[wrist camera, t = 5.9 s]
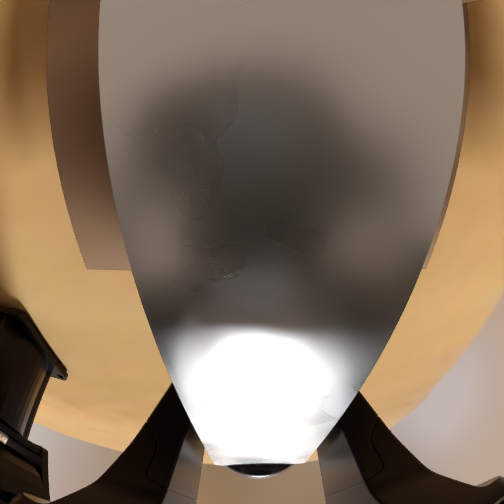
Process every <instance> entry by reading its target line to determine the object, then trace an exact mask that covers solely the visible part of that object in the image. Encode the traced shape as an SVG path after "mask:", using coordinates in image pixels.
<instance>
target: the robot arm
mask: <svg viewBox="0 0 504 504" xmlns="http://www.w3.org/2000/svg"><path fill="white" fill-rule="evenodd" d="M50 376H51V377H54V378H58V379H61V380H66V379H67V377H68V374H67V372H66V371H65V370H64V368H63V367H62V366H61V365H60V363H59V362H58V361H57V359H56V358H55V357H54V355H53V354H52V353H51V351H50V350H49V349H48V347H47V346H46V344H45V343H44V341H43V340H42V338H41V337H40V336H39V334H38V333H37V331H36V329H35V328H34V326H33V325H32V323H31V322H30V320H29V318H28V317H27V316H26V315H25V314H24V313H23V312H22V311H19V310H15V309H10V308H5V307H0V434H1V435H3V436H4V437H6V438H7V439H8V440H7V442H6V443H3V442H2V441H0V504H196V502H197V501H196V500H197V495H198V488H199V482H200V475H201V468H202V462H203V455H204V449H205V447H204V445H203V443H202V441H201V440H200V438H199V436H198V434H197V432H196V430H195V428H194V426H193V424H192V422H191V420H190V418H189V416H188V414H187V412H186V410H185V408H184V406H183V404H182V402H181V400H180V398H179V396H178V393H177V391H176V389H175V387H174V385H173V382H172V383H171V385H170V386H169V388H168V389H167V391H166V392H165V394H164V395H163V397H162V398H161V400H160V401H159V403H158V404H157V406H156V407H155V409H154V411H153V412H152V414H151V415H150V417H149V418H148V420H147V422H145V424H144V425H143V427H142V428H141V430H140V431H139V433H138V434H137V435H136V437H135V438H134V440H133V441H132V442H131V443H130V445H129V446H128V447H127V448H126V449H125V451H124V452H123V453H122V454H121V455H120V456H119V457H118V459H117V460H116V461H115V462H114V463H113V464H112V465H111V466H110V467H109V468H108V469H107V471H106V472H105V473H104V474H103V475H102V476H101V477H100V478H99V479H98V480H96V481H95V482H94V483H92V484H91V485H89V486H87V487H85V488H82V489H80V490H78V491H76V492H74V493H72V494H69V495H67V496H65V497H63V498H61V499H58V500H56V501H53V502H50V495H49V481H48V451H47V450H46V449H44V448H43V447H41V446H39V445H36V444H34V443H32V442H30V441H29V440H28V436H29V433H30V430H31V427H32V424H33V421H34V418H35V415H36V412H37V409H38V407H39V404H40V401H41V399H42V396H43V393H44V391H45V388H46V386H47V383H48V381H49V378H50ZM377 416H378V415H377V413H376V412H375V411H374V409H373V408H372V407H371V406H370V404H369V403H368V402H367V400H366V399H365V398H364V396H363V395H362V394H361V393H360V391H358V393H357V394H356V396H355V397H354V399H353V400H352V402H351V403H350V405H349V406H348V408H347V409H346V410H345V412H344V413H343V415H342V416H341V417H340V419H339V420H338V422H337V423H336V424H335V426H334V427H333V428H332V430H331V431H330V432H329V434H328V435H327V436H326V437H325V439H324V440H323V441H322V443H321V444H320V445H319V446H318V447H317V452H318V458H319V464H320V469H321V476H322V482H323V487H324V493H325V501H326V504H504V478H503V477H501V476H497V477H495V478H492V479H491V480H488V481H486V482H484V483H482V484H479V485H477V486H473V485H470V484H466V483H463V482H460V481H457V480H454V479H451V478H448V477H445V476H443V475H440V474H437V473H435V472H433V471H431V470H430V469H428V468H427V467H425V466H424V465H423V464H422V463H421V462H420V461H419V460H418V459H417V458H416V457H415V456H414V455H413V454H412V453H411V452H410V451H409V450H408V449H407V448H406V447H405V446H404V445H402V443H401V442H400V441H399V440H398V439H397V438H396V437H395V436H394V435H393V434H392V433H391V431H390V430H389V429H388V427H387V426H386V425H385V424H384V422H383V421H382V420H381V418H380V417H377Z"/></svg>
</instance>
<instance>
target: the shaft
mask: <svg viewBox="0 0 504 504" xmlns="http://www.w3.org/2000/svg"><path fill="white" fill-rule="evenodd" d="M98 60H99V88H100V102H101V114H102V124H103V133H104V141H105V148H106V155H107V162H108V168H109V174H110V180H111V185H112V190H113V196H114V200H115V205H116V210H117V215H118V219H119V223H120V228H121V232H122V236H123V240H124V244H125V248H126V251H127V255H128V259H129V262H130V266H131V269H132V273H133V276H134V279H135V283H136V286H137V289H138V292H139V296H140V299H141V302H142V305H143V308H144V311H145V314H146V316H147V319H148V322H149V325H150V328H151V330H152V333H153V336H154V338H155V341H156V344H157V346H158V349H159V351H160V354H161V356H162V359H163V361H164V364H165V366H166V368H167V371H168V373H169V375H170V378H171V380H172V382H173V385H174V387H175V389H176V391H177V393H178V396H179V398H180V400H181V402H182V404H183V406H184V408H185V410H186V412H187V414H188V416H189V418H190V420H191V422H192V424H193V426H194V428H195V430H196V432H197V434H198V436H199V438H200V440H201V441H202V443H203V445H204V447H205V449H206V451H207V452H208V454H209V456H210V458H211V459H212V461H213V463H214V464H215V465H223V466H224V467H226V468H227V469H228V470H230V471H231V472H233V473H235V474H237V475H239V476H242V477H246V478H252V479H264V478H270V477H274V476H277V475H279V474H281V473H283V472H285V471H286V470H288V469H289V468H291V467H292V466H293V465H294V464H298V463H305V462H306V461H307V459H308V458H309V457H310V456H311V455H312V454H313V452H314V451H315V450H316V449H317V447H318V446H319V445H320V444H321V443H322V441H323V440H324V439H325V437H326V436H327V435H328V434H329V432H330V431H331V430H332V428H333V427H334V426H335V424H336V423H337V422H338V420H339V419H340V417H341V416H342V415H343V413H344V412H345V410H346V409H347V408H348V406H349V405H350V403H351V402H352V400H353V399H354V397H355V396H356V394H357V393H358V391H359V390H360V388H361V387H362V385H363V383H364V382H365V380H366V379H367V377H368V375H369V374H370V372H371V370H372V369H373V367H374V365H375V364H376V362H377V360H378V359H379V357H380V355H381V353H382V351H383V350H384V348H385V346H386V344H387V342H388V340H389V339H390V337H391V335H392V333H393V331H394V329H395V327H396V325H397V323H398V321H399V319H400V317H401V315H402V313H403V311H404V309H405V306H406V304H407V302H408V300H409V298H410V295H411V293H412V291H413V289H414V286H415V284H416V282H417V279H418V277H419V274H420V272H421V269H422V267H423V264H424V262H425V259H426V256H427V254H428V251H429V248H430V245H431V242H432V240H433V237H434V234H435V231H436V228H437V224H438V221H439V218H440V215H441V211H442V208H443V204H444V201H445V197H446V193H447V189H448V185H449V181H450V177H451V173H452V168H453V163H454V159H455V153H456V148H457V142H458V136H459V130H460V123H461V115H462V106H463V95H464V80H465V31H464V17H463V7H462V0H101V1H100V14H99V40H98Z"/></svg>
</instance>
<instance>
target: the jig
mask: <svg viewBox="0 0 504 504" xmlns="http://www.w3.org/2000/svg"><path fill="white" fill-rule="evenodd" d="M100 1H101V0H50V6H49V15H48V27H47V51H46V67H47V92H48V105H49V115H50V123H51V131H52V138H53V144H54V150H55V156H56V162H57V167H58V172H59V176H60V181H61V185H62V189H63V194H64V198H65V202H66V205H67V209H68V213H69V216H70V220H71V223H72V227H73V230H74V233H75V236H76V239H77V242H78V245H79V248H80V251H81V254H82V257H83V260H84V263H85V265H86V268H87V269H97V270H132V269H131V266H130V262H129V259H128V255H127V251H126V248H125V244H124V240H123V236H122V232H121V228H120V223H119V219H118V215H117V210H116V205H115V200H114V196H113V190H112V185H111V180H110V174H109V168H108V162H107V155H106V148H105V141H104V133H103V124H102V114H101V102H100V88H99V60H98V40H99V14H100ZM472 1H480V0H462V7H463V17H464V31H465V80H464V95H463V106H462V115H461V123H460V130H459V136H458V142H457V148H456V153H455V159H454V163H453V168H452V173H451V177H450V181H449V185H448V189H447V193H446V197H445V201H444V204H443V208H442V211H441V215H440V218H439V221H438V224H437V228H436V231H435V234H434V237H433V240H432V242H431V245H430V248H429V251H428V254H427V256H426V259H425V262H424V264H423V267H422V269H426V267H427V265H428V262H429V260H430V257H431V255H432V252H433V249H434V246H435V244H436V241H437V238H438V235H439V232H440V229H441V226H442V223H443V220H444V216H445V213H446V210H447V206H448V203H449V199H450V196H451V192H452V188H453V184H454V180H455V176H456V171H457V167H458V162H459V157H460V152H461V146H462V141H463V134H464V128H465V121H466V112H467V103H468V91H469V73H470V40H469V23H468V12H467V3H466V2H472Z"/></svg>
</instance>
